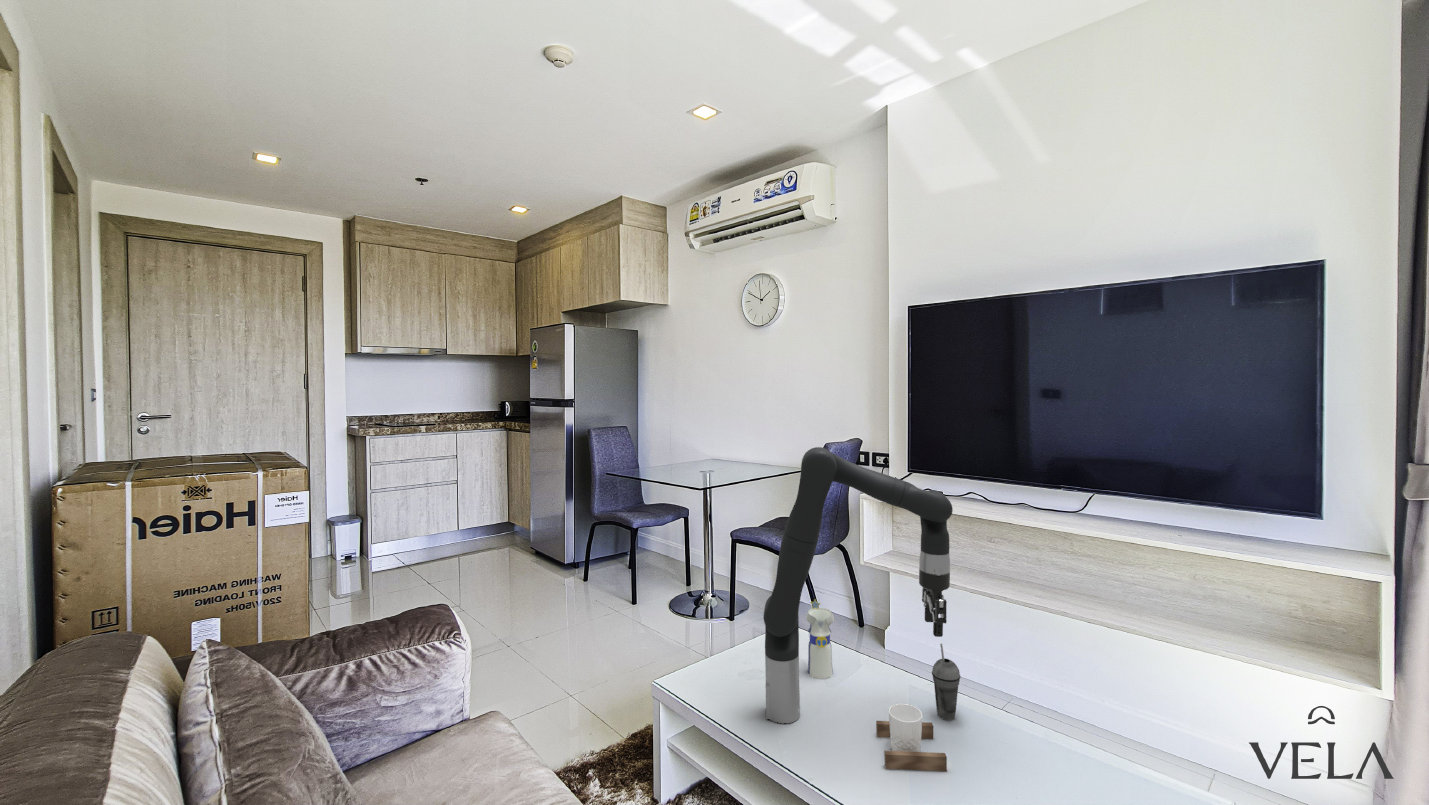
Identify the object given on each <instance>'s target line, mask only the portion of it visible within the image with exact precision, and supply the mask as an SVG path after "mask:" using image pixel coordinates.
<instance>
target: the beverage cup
mask: <svg viewBox="0 0 1429 805" xmlns="http://www.w3.org/2000/svg"><path fill="white" fill-rule="evenodd" d="M939 645H940V652H941V658H940V659H938V660H936V662H934V664H933V666H932V670H931V675H932V680H933V683H934V684H933V686H934V696H935V708H936V713H937V714H936V715H937V716H938V718H939V719H941V720H943V721H953V720H955V719H956V713H957V705H958V704H957V702H958V692H959V685H960V679H961V674H960V669H959V667H958V665H957V664H956V663H955V662H954V661H953V660H951V659H949V658H945V655H944V647H943V643H941V642H940V644H939Z"/></svg>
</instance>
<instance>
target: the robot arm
mask: <svg viewBox="0 0 1429 805" xmlns="http://www.w3.org/2000/svg"><path fill="white" fill-rule="evenodd" d="M799 478H800V479H799V485H798V490H797V495H796V499H795V502H794V505H793V507H792V509H791V511H790V513H789V515H788V519H787V521H786V523H785V527H784V530H783V535H782V539H781V542H780V547H779V554H778V561H777V569H776V577H775V578H776V579H775V583H774V585H773V586H774V587H773V590H772V592H771V595H770V596H769V597H768V598H767V600H766V601H765V604H764V605H765V606H764V610H763V623H764V625H765V633H764V634H765V635H764V655H765V656H764V658H765V661H764V662H765V663H764V664H765V719H766V720H767V719H771V720H770V721H772V720H773V721H772V722H774V721H775V722H774V723H777V722H778V723H777V724H784V723H786V724H790V723H794V722H796V721H797V720H799V718H800V716H801V704H800V700H801V699H800V698H801V697H800V696H801V694H800V689H801V688H800V654H799V653H800V651H799V650H800V631H799V630H800V629H799V628H800V627H799V626H800V625H799V618H800V617H799V611H800V610H799V609H800V604H801V602H800V601H801V596H802V593H803V589H804V586H805V583H806V580H807V578H808V575H809V573H810V569H811V567H812V562H813V560H814V557H815V554H816V550H817V545H818V542H819V537H820V534H821V533H820V532H821V529H822V528H821V527H822V520H823V512H824V507H825V503H826V501H827V500H826V499H827V497H828V495H829V491H830V488H831V486H832V484H833V483H837V484H840V485H841V484H842V485H844V486H847V487H851V488H852V489H855V490H857V491H858V492H861V493H863V494H865V495H867V496H868V497H871V498H873V499H875V500H877V501H879V502H882V503H886V504H888V505H891V506H894V507H897V508H900V509H904V510H906V511H908V512H910V513H912V514H914V515H917V516H919V518H920V519H919V520H920V527H921V532H920V533H921V534H920V551H919V552H920V553H919V559H918V560H919V562H918V563H919V566H918V567H919V568H918V570H919V572H918V573H919V574H918V583H919V585H920V586H921V587H922V590H921V595H922V596H921V601H922V603H923V607H924V621H925V622H926V623H932V624H933V625H932V635H933V636H934V637H936V638H938V637H939V638H942V637H943V635H944V624H947V621H948V620H947V603H948V602H947V599H945V597H944V595H943V592H944V591H946V590H948V589H949V588H950V587H951V586H950V585H951V584H950V583H951V582H950V581H951V579H950V578H951V557H950V556H951V555H950V534H949V530H948V524H947V523H948V521H947V520H949V519H950V518H951V516H952V514H953V505H952V502H951V501H950V500H949V498H948V497H947V496H946V495H945V494H944V493H942V492H941V491H939V490H937V489H936V490H935V489H930V490H925V489H922V488H919V487H917V486H915V485H914V484H912V483H911V482H908V481H906V480H903V479H901V478H897V477H894V476H891V475H888V474H884V473H882V472H879V471H875V470H872V469H869V468H866V467H864V466H861V465H858V464H856V463H853V462H851V461H849V460H847V459H845V458H843V457H841V456H839V455H837V454H835V452H834V453H833V452H832V451H830V450H829V449H827V448H825V447H820V446H817V447H812V448H810V449H809V450H807V451H806V452H805V453H804V455H803V456H802V459H801V464H800V476H799ZM939 615H940V617H939Z"/></svg>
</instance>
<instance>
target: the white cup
mask: <svg viewBox="0 0 1429 805" xmlns="http://www.w3.org/2000/svg"><path fill="white" fill-rule="evenodd" d="M888 721H889V725H890V747H891V749H890V750H891V751H909V752H921V745H922V744H921V743H922V739H921V734H922V722H923V713H922V711H921V710H920V709H919V708H918V707H916V706H914V705H911V704H907V703H896V704H892V705H891V706H890V707H889V709H888Z"/></svg>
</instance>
